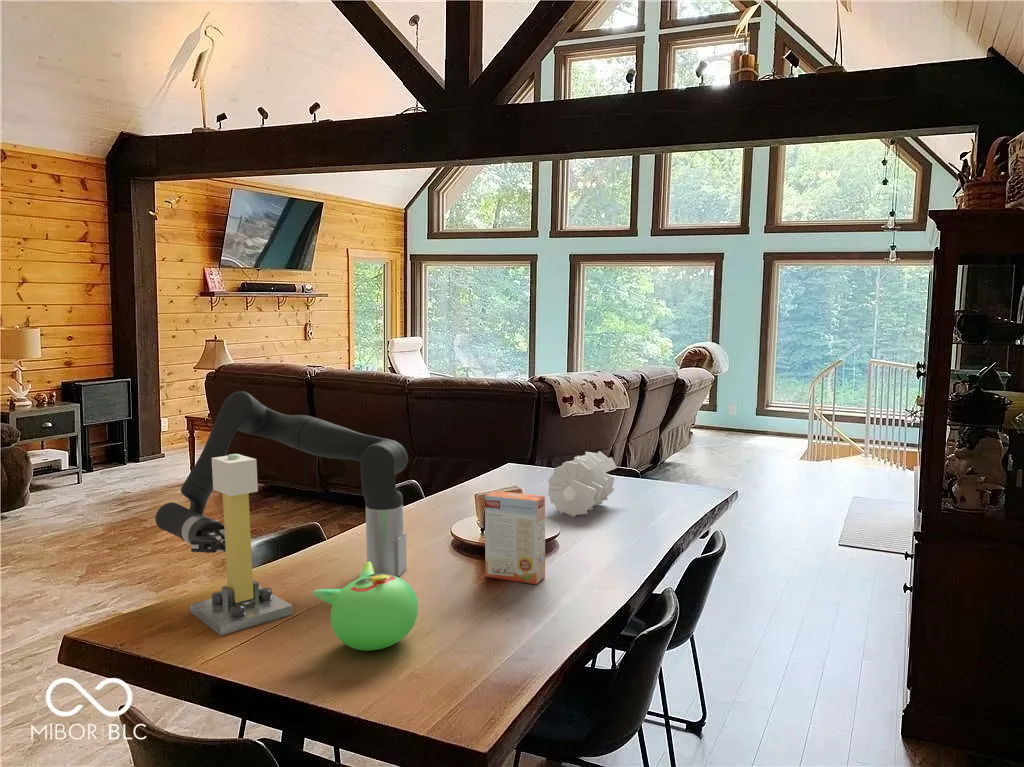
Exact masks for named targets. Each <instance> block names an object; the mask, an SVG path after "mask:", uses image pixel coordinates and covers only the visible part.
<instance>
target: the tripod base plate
mask: <svg viewBox="0 0 1024 767" xmlns="http://www.w3.org/2000/svg"><path fill="white" fill-rule="evenodd" d="M253 596H254V598H252V601H250V602H246V603H243V604H234V605H233V599H232V589H230V588H229V587H228V586H227V585H224V586H221V591H216V592H213V593H212V594H211V598H208V599H205V600H201V601H197V602H193V603H190V604H189V608H190V609H189V610H190V614H191V613H192V614H191V615H193V616H194V617H195V618H197V619H198V620H200V621H201V622H202V623H203V624H205V625H206V626H207V627H209V628H210V629H211V630H213V631H214V632H215V633H216V634H217V635H219V636H224V635H227V634H228V635H229V634H232V633H234V632H237V631H242V630H245V629H248V628H251V627H254V626H258V625H260V624H265V623H267V622H271V621H275V620H278V619H281V618H284V617H288V616H291V615H293V614H294V613H293V604H291V603H289V602H287V601H285V600H284V599H282V598H280V597H279V596H277V595H276V594H274V593H273V589H272V588H271V587H262V586H260V584H259V582H258V581H256V580H255V579H253Z"/></svg>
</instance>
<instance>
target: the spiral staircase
mask: <svg viewBox="0 0 1024 767" xmlns="http://www.w3.org/2000/svg"><path fill="white" fill-rule="evenodd" d="M617 468H618V467H617V465H616V463H615V461H614V459H613V457H612V456H610V457H608V456H606V454H604V453H603V452H601V451H600V450H598V451H597V452H590V451H585V454H583V455H576V456H574V459H572V460H569V461H565V462H563V463H562V465H560V466H557V467H554V468H553V473H552V474H551V476H550V477H549V478H548V479H547V483H548V492H547V493H548V495H547V496H548V497H549V500H550V504H553V505H554V506H555V508H556V509H557V510H558V511H559V513H560V514H563V513H564V514H567V515H569V516H571V517H574V518H575V517H576V516H578V515H579V516H580V515H587V514H588V511H592V510H594V508H593V507H594V506H597V505H602V504H604V501H608V500H609V499H608V496H610V495H611V494H612V493H613V492H614V491H615V490H616V489H615V487H613V486H614V484H615V480H616V476H614V475H612V474H609V473H608V472H610V471H612V470H615V469H617Z"/></svg>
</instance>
